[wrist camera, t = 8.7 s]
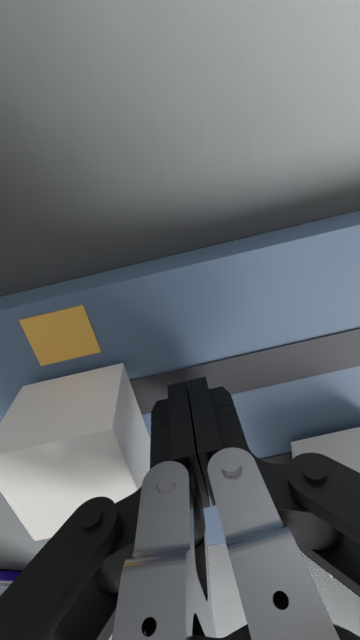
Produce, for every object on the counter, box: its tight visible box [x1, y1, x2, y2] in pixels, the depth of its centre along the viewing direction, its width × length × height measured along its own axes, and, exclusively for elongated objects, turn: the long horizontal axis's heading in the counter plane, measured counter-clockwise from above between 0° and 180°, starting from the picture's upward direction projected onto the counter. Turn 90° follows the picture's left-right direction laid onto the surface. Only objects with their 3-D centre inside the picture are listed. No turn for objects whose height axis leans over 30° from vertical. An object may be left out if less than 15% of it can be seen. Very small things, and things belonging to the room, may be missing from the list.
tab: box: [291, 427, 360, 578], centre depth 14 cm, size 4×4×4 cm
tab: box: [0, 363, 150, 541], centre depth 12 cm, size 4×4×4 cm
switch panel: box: [0, 210, 360, 546], centre depth 16 cm, size 20×16×2 cm
